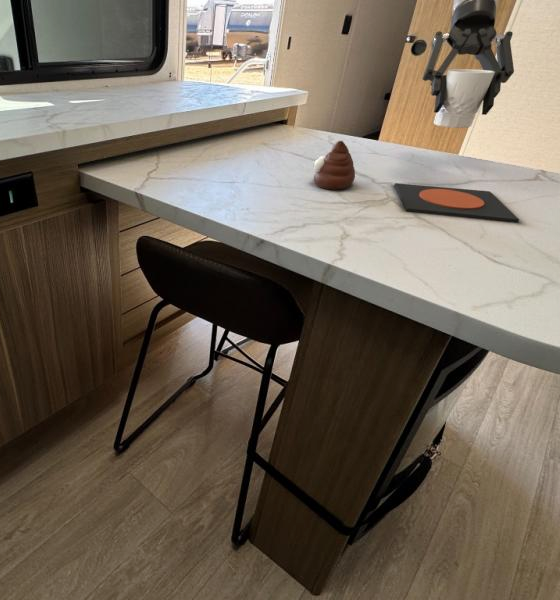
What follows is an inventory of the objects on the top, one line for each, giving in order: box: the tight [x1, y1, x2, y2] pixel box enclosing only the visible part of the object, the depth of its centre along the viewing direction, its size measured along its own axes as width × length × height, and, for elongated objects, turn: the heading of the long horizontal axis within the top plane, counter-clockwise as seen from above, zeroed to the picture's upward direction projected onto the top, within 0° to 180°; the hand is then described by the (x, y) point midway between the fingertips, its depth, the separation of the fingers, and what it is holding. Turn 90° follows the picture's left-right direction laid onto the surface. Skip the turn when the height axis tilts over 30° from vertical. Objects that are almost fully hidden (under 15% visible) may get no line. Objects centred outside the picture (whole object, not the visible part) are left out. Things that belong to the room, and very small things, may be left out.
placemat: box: [393, 182, 520, 223], centre depth 82 cm, size 18×16×1 cm
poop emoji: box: [313, 140, 356, 191], centre depth 89 cm, size 10×8×9 cm
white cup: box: [433, 68, 495, 129], centre depth 84 cm, size 8×8×10 cm
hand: (462, 109), depth 82 cm, fingers closed on white cup, 8 cm apart
